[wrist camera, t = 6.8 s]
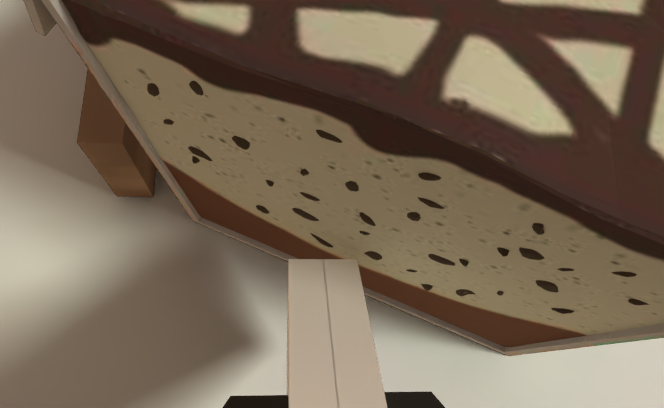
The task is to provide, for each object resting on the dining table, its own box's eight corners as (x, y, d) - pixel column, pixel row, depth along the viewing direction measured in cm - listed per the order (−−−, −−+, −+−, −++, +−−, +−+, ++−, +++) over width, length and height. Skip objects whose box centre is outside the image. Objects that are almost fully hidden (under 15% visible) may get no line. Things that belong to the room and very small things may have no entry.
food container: (614, 182, 18) (962, -65, 9) (561, 379, 16) (937, 326, 7) (240, 31, 19) (197, -343, 10) (144, 200, 17) (-27, -64, 8)
